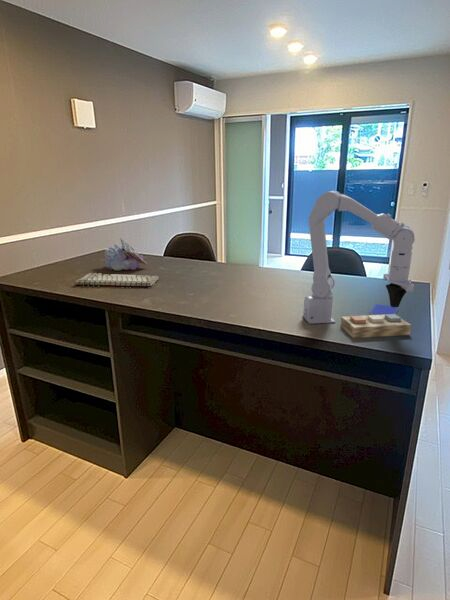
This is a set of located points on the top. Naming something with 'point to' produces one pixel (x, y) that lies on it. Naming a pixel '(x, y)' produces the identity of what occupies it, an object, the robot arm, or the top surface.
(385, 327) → the key panel
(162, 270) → the top surface
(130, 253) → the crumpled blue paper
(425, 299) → the top surface
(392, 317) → the slate key
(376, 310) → the hard drive
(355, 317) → the terracotta key
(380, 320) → the white key
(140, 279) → the mechanical keyboard
